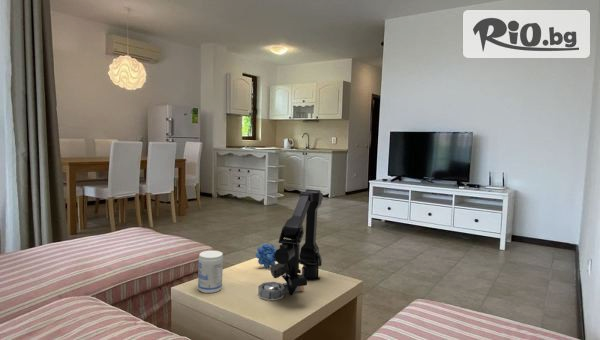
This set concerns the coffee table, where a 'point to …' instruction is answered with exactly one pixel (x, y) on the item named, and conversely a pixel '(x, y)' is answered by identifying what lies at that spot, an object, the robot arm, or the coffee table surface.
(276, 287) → the grey metal bowl
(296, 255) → the robot arm
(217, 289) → the supplement tub
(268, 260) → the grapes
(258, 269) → the coffee table surface
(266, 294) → the grey octagonal frying pan
